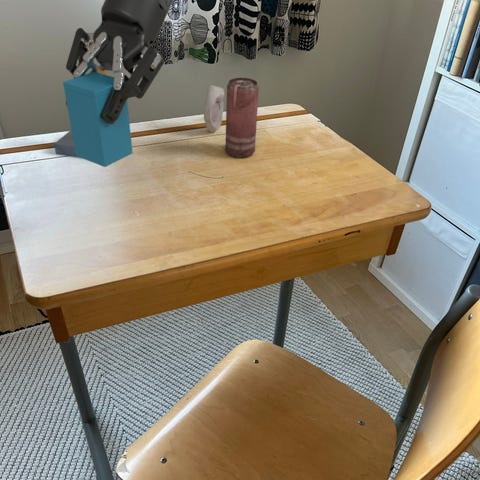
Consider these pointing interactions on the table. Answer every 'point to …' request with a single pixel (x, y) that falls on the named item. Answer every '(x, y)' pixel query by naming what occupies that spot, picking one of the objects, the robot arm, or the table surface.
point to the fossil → (213, 108)
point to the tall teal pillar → (96, 120)
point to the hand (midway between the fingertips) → (89, 114)
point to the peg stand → (65, 145)
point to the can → (241, 117)
